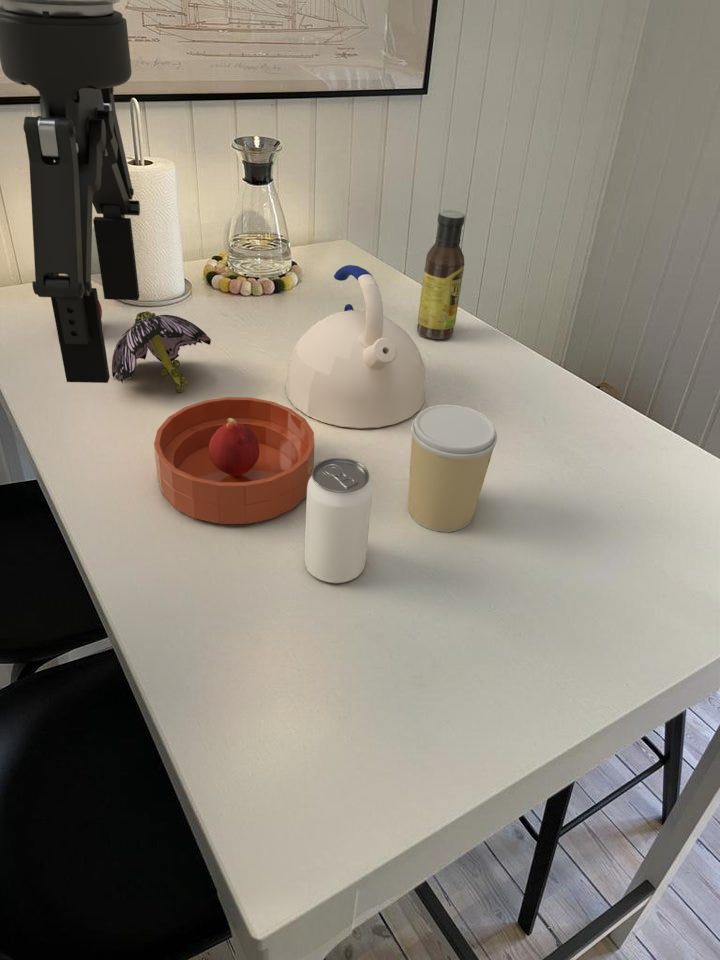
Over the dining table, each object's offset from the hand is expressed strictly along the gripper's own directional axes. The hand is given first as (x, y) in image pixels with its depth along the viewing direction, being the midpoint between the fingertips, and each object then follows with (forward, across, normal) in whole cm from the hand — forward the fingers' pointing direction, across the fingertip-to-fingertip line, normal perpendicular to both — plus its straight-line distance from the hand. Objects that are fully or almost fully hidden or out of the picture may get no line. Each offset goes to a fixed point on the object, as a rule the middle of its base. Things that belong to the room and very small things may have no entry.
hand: (106, 335), depth 57 cm
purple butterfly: (+29, +43, +4) cm, 52 cm away
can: (+29, +5, -19) cm, 35 cm away
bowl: (+29, +20, -8) cm, 36 cm away
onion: (+28, +20, -8) cm, 36 cm away
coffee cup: (+29, +14, -32) cm, 45 cm away
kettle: (+29, +41, -24) cm, 56 cm away
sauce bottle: (+29, +61, -39) cm, 78 cm away
